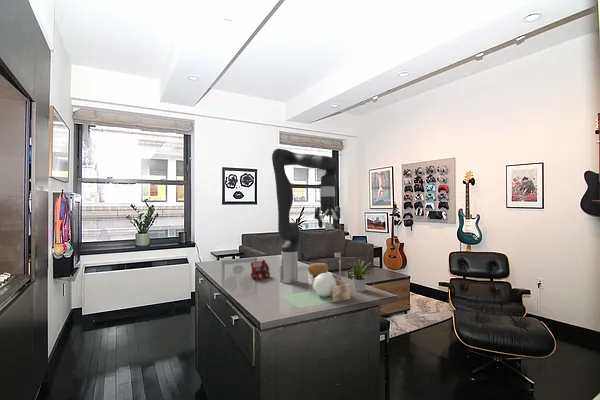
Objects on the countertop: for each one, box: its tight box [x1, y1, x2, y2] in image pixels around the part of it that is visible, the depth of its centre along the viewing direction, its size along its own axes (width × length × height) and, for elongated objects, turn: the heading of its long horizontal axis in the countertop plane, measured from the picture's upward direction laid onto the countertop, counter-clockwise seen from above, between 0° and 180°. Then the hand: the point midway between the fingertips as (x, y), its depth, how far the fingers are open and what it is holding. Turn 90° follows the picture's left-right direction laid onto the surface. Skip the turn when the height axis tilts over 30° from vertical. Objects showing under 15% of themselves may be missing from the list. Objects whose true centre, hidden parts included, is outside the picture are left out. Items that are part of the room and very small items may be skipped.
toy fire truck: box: [250, 259, 271, 281], centre depth 189 cm, size 7×12×10 cm, turn 133°
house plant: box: [348, 258, 372, 292], centre depth 162 cm, size 14×14×16 cm
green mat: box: [279, 290, 352, 309], centre depth 151 cm, size 28×20×1 cm
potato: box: [307, 262, 329, 277], centre depth 194 cm, size 10×14×8 cm
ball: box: [313, 272, 336, 297], centre depth 152 cm, size 11×11×11 cm
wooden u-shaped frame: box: [311, 251, 351, 303], centre depth 155 cm, size 11×19×20 cm, turn 29°
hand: (327, 227), depth 164 cm, fingers open, 8 cm apart
